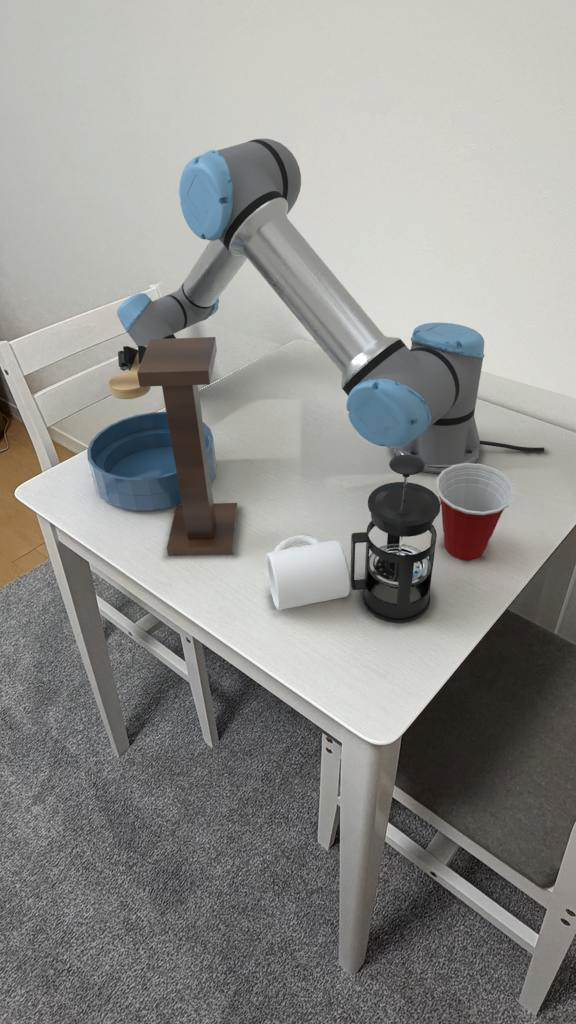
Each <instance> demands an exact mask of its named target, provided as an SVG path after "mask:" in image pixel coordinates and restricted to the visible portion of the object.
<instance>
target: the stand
mask: <svg viewBox="0 0 576 1024" xmlns="http://www.w3.org/2000/svg"><path fill="white" fill-rule="evenodd" d="M217 349H218V347H217V339H216V336H210V337H209V336H207V337H206V336H205V337H176V338H172V339H150V341H149V344H148V346H147V349H146V351H145V354H144V356H143V359H142V361H141V364H140V367H139V369H138V372H137V375H138V380H139V385H140V387H146V386H151V387H161V388H162V394H163V401H164V406H165V412H166V413H167V419H168V425H169V431H170V437H171V443H172V448H173V454H174V460H175V466H176V472H177V478H178V484H179V490H180V496H181V502H182V503H181V504H176V506H175V508H174V513H173V518H172V522H171V527H170V532H169V536H168V541H167V545H166V552H167V556H168V557H175V556H176V557H177V556H218V555H219V556H220V555H222V556H223V555H234V552H235V551H234V550H235V543H236V541H235V540H236V531H237V522H238V521H237V520H238V511H239V508H238V502H214V497H213V496H214V495H213V489H212V483H211V480H210V473H209V465H208V458H207V450H206V443H205V435H204V428H203V422H204V421H203V414H202V413H203V412H202V408H201V400H200V391H199V386H204V385H206V386H207V385H208V386H209V385H211V381H212V377H213V376H212V375H213V371H214V365H215V361H216V356H217V352H218V350H217Z"/></svg>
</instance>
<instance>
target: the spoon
mask: <svg viewBox="0 0 576 1024" xmlns="http://www.w3.org/2000/svg"><path fill="white" fill-rule="evenodd" d="M144 347H147V346H144ZM139 367H140V364H139V357H138V353H137V355H136V358H135V360H134V363H133V365H132V368H131V370H130V371H126V372H125V371H123V372H121V373H118V374H116V375H113V377H111V378H110V379H109V381H108V386H109V390H110V394H111V396H113V398H116V399H120V400H134V399H138V398H141V397H143V396H145V395H147V394H148V393H149V392H150V391H151V388H152V386H146V387H140V385H139V380H138V375H137V372H138V369H139Z"/></svg>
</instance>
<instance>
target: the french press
mask: <svg viewBox="0 0 576 1024" xmlns="http://www.w3.org/2000/svg"><path fill="white" fill-rule="evenodd" d="M388 465H389V468H390V469H391V470H392V471H393V472H394V473H395V474H399V475H401V476H402V477H403V478H404V480H403V481H393V482H389V483H384V484H383V485H380V486H378V487H376V488H375V489H373V490H372V491H371V492H370V494H369V495H368V498H367V508H368V511H369V512H370V519H371V521H369V523H368V525H367V527H366V531H362V532H353V533H351V536H350V569H349V577H350V588H351V590H352V591H362V594H361V599H362V603H363V605H364V607H365V609H366V610H367V611H368V612H369V613H370V614H371V615H372V616H374V617H375V618H377V619H379V620H382V621H384V622H387V623H393V624H405V623H410V622H413V621H416V620H418V619H420V618H421V617H423V615H425V614H426V613H427V611H428V610H429V607H430V605H431V594H430V593H431V592H430V591H431V585H432V575H433V567H434V560H435V552H436V544H437V537H438V536H437V535H438V534H437V533H438V532H437V530H436V527H435V525H433V524H434V521H435V520H436V518H437V517H438V516H439V514H440V512H441V503H440V498H439V497H438V496H437V494H436V493H435V492H434V491H433V490H431V489H430V488H428V487H426V486H424V485H421V484H419V483H414V482H408V478H409V477H411V476H415V475H418V474H420V473H422V472H423V470H424V468H425V463H424V461H423V460H422V459H420V458H419V457H416V456H413V455H399V456H396V455H395V456H394V457H392V458H391V459H390V461H389V463H388ZM375 527H376V528H377V529H379V530H380V531H381V532H383V533H385V534H387V535H386V536H387V537H386V544H385V545H381V546H380V547H379V546H377V545H376V544H375V543H374V542H373V541H372V540H371V538H370V536H369V534H370V533H371V531H372V530H373V529H374V528H375ZM427 532H429V533H430V534H431V536H430V545H429V547H427V548H426V549H425V550H423V551H422V550H420V549H418V548H417V547H414V546H411V545H408V544H403V538H409V537H416V536H420V535H422V534H423V535H424V534H425V533H427ZM361 543H362V544H363V543H365V556H364V557H365V558H364V578H363V579H361V578H360V579H355V575H356V574H355V572H356V567H355V566H356V544H361ZM370 552H371V553H370ZM379 584H381V585H383V586H385V587H387V588H390V589H397V596H396V603H395V602H389V601H385V600H383V599H381V598H379V597H378V596H377V595H375V594H374V593H373V591H374V589H375V587H376V586H378V585H379ZM412 588H416V590H417V591H418V592H419V595H420V598H418V599H416V600H414V601H411V596H412Z"/></svg>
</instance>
